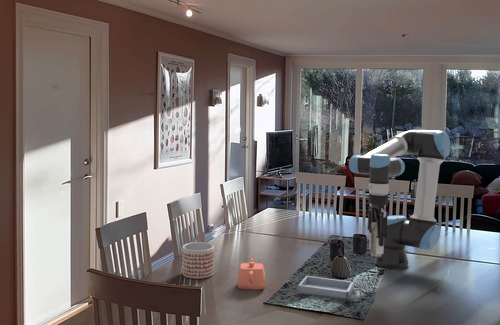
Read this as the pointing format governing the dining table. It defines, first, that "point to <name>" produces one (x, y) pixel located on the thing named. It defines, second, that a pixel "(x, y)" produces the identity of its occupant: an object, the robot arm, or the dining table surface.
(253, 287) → the teapot
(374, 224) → the box
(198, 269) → the planter
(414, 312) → the dining table surface
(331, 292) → the bin
